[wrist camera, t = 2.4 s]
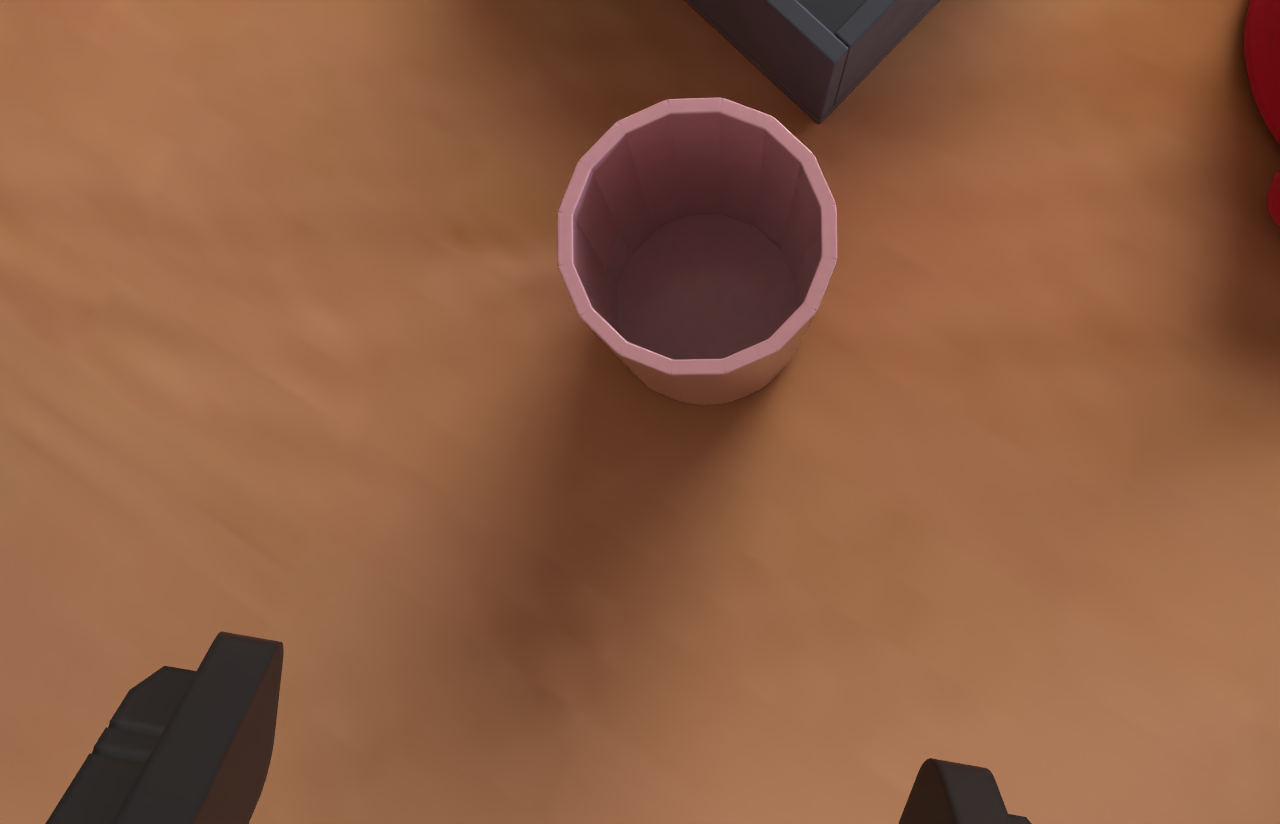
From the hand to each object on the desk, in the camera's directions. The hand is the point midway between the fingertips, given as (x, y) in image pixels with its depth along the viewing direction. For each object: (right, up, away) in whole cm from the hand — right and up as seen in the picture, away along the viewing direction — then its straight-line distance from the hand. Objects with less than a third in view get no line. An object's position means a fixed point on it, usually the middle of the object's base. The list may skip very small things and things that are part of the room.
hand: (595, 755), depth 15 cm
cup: (+3, +8, +22) cm, 24 cm away
